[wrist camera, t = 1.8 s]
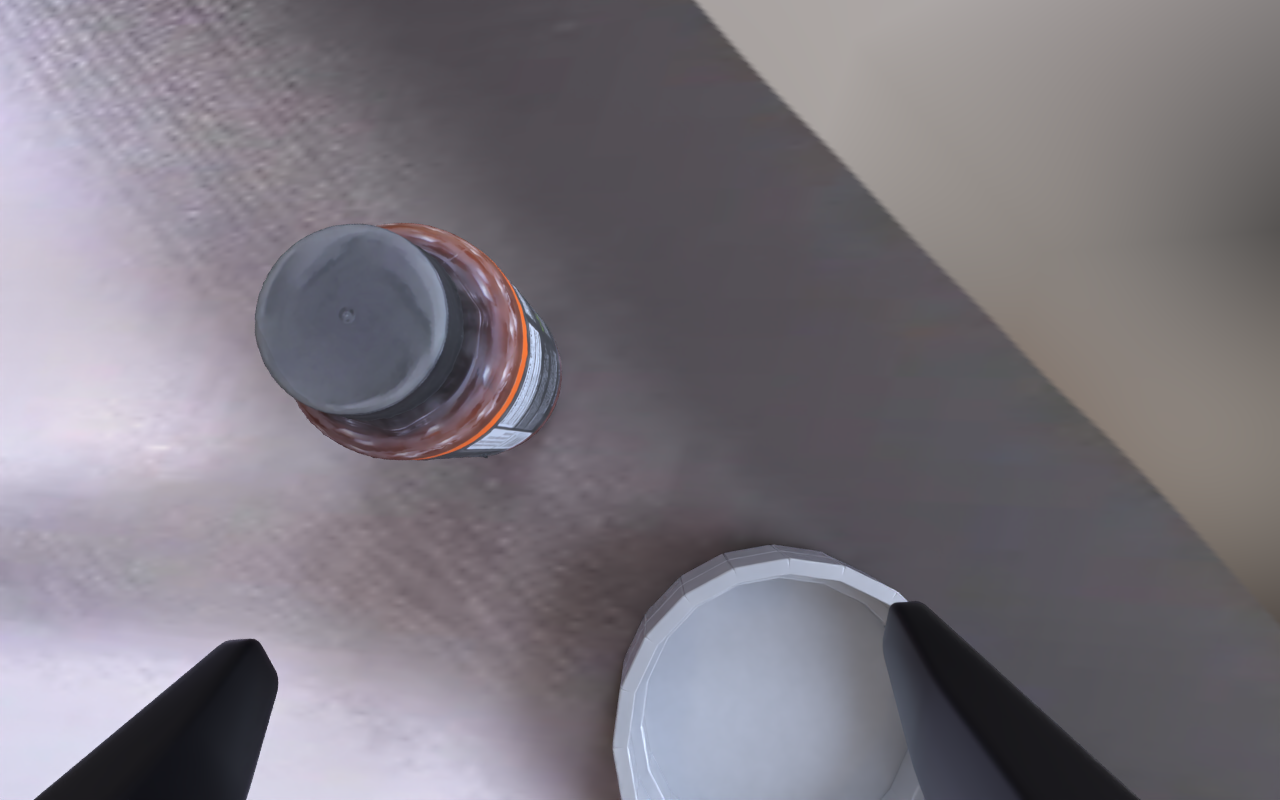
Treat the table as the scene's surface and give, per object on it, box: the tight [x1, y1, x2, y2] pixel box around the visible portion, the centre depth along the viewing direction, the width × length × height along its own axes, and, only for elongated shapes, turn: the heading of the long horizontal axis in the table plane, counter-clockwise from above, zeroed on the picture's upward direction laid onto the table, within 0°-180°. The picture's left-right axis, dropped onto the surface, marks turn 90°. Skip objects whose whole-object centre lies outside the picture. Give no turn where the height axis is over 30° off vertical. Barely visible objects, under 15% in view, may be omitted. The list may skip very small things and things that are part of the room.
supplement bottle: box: [255, 223, 562, 460], centre depth 19 cm, size 6×6×11 cm
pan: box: [612, 545, 925, 800], centre depth 22 cm, size 11×11×4 cm
